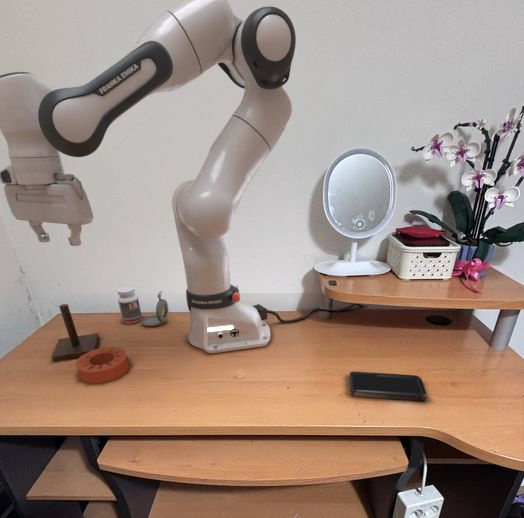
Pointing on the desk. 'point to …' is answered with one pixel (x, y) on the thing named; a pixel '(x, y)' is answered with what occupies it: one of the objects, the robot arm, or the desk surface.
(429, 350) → the desk surface
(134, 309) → the pill bottle
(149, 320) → the pocket watch
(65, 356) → the peg on square base
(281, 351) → the desk surface
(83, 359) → the ring
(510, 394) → the desk surface
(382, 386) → the phone
